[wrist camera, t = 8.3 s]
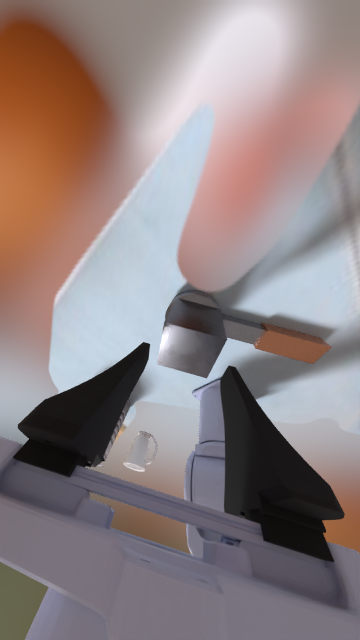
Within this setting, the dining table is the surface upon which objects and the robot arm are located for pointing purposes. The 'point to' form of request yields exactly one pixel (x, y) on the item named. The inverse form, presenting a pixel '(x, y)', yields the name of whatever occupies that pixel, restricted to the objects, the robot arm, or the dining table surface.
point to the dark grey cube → (192, 338)
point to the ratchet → (263, 333)
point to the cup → (139, 452)
